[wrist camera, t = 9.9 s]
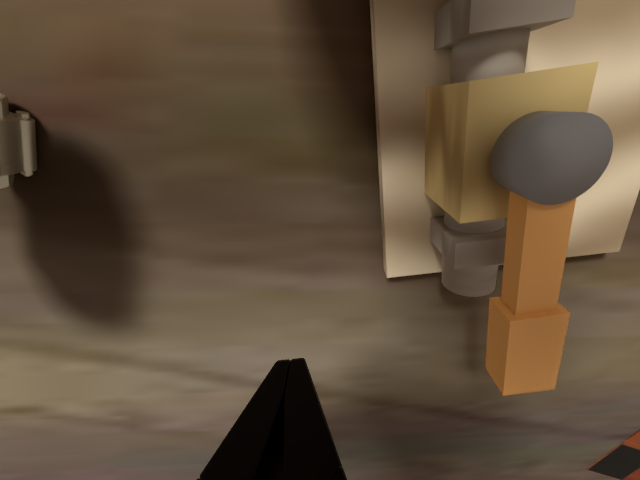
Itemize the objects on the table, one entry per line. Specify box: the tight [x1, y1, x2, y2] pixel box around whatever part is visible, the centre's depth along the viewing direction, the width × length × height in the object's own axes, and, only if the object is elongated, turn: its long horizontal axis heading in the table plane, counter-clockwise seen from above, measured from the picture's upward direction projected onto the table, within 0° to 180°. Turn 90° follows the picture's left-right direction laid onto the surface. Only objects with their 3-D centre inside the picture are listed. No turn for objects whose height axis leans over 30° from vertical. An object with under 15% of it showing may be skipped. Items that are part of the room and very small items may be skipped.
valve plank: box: [370, 0, 640, 297], centre depth 15 cm, size 18×16×7 cm
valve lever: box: [485, 111, 613, 396], centre depth 13 cm, size 3×14×2 cm, turn 11°
